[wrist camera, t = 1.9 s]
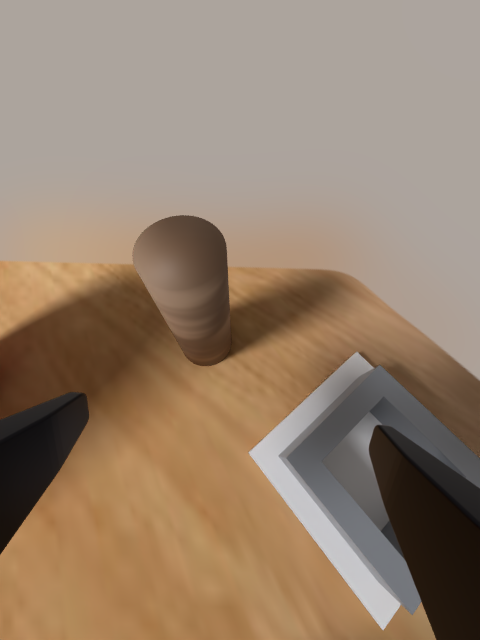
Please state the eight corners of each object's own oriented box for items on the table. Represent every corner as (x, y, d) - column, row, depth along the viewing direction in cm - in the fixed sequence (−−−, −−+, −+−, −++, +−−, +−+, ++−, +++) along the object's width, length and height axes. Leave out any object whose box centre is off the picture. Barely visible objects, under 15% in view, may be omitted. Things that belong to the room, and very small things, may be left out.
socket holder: (375, 620, 16) (420, 677, 12) (248, 452, 20) (250, 454, 16) (478, 476, 20) (540, 484, 16) (352, 355, 24) (376, 336, 20)
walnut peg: (201, 376, 23) (166, 308, 11) (172, 338, 24) (115, 244, 13) (241, 345, 24) (245, 255, 13) (211, 311, 25) (191, 202, 14)
